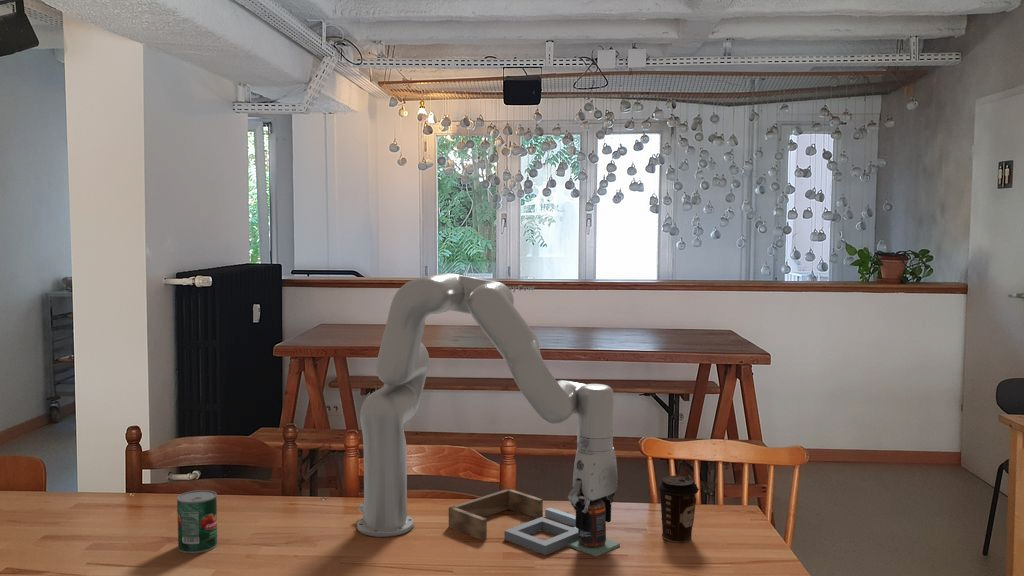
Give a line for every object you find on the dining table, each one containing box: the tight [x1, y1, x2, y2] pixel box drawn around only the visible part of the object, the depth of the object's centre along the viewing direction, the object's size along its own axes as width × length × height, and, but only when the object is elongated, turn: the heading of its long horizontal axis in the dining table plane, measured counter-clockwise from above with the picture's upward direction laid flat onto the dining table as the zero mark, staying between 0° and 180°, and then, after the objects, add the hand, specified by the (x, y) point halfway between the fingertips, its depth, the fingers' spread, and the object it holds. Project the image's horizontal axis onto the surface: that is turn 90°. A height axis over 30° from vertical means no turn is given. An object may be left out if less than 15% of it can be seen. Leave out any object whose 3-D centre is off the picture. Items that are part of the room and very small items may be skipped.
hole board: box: [503, 516, 578, 556], centre depth 181 cm, size 12×12×2 cm
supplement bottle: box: [578, 494, 607, 547], centre depth 177 cm, size 6×6×11 cm
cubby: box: [448, 488, 544, 541], centre depth 191 cm, size 11×19×4 cm, turn 136°
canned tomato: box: [176, 489, 218, 554], centre depth 175 cm, size 8×8×11 cm
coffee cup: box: [658, 475, 700, 543], centre depth 182 cm, size 9×8×13 cm
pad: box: [566, 538, 621, 558], centre depth 178 cm, size 8×8×1 cm
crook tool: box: [544, 507, 578, 529], centre depth 189 cm, size 14×7×2 cm, turn 46°
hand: (593, 524), depth 177 cm, fingers open, 6 cm apart
